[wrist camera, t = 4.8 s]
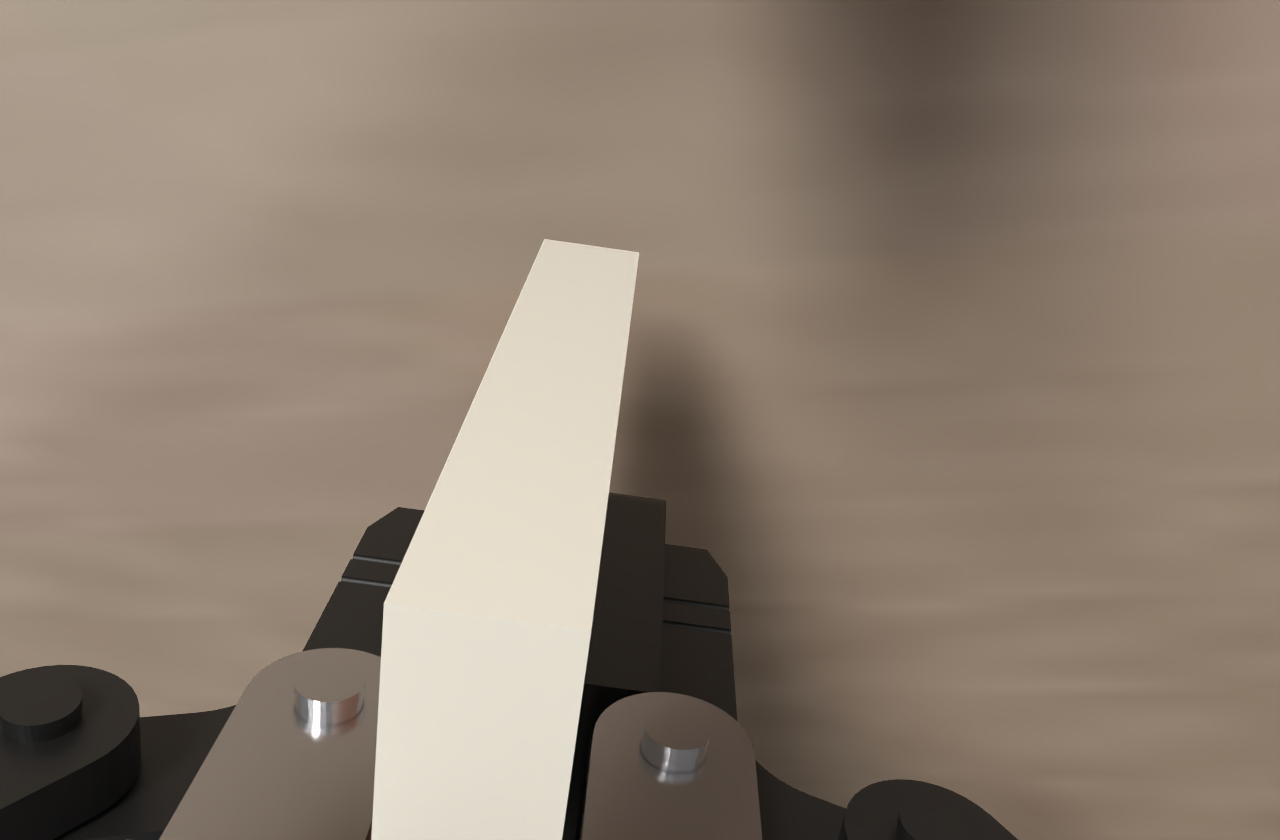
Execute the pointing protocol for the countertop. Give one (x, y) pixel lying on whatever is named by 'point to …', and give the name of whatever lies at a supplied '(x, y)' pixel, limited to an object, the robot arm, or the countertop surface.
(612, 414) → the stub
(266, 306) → the countertop surface
